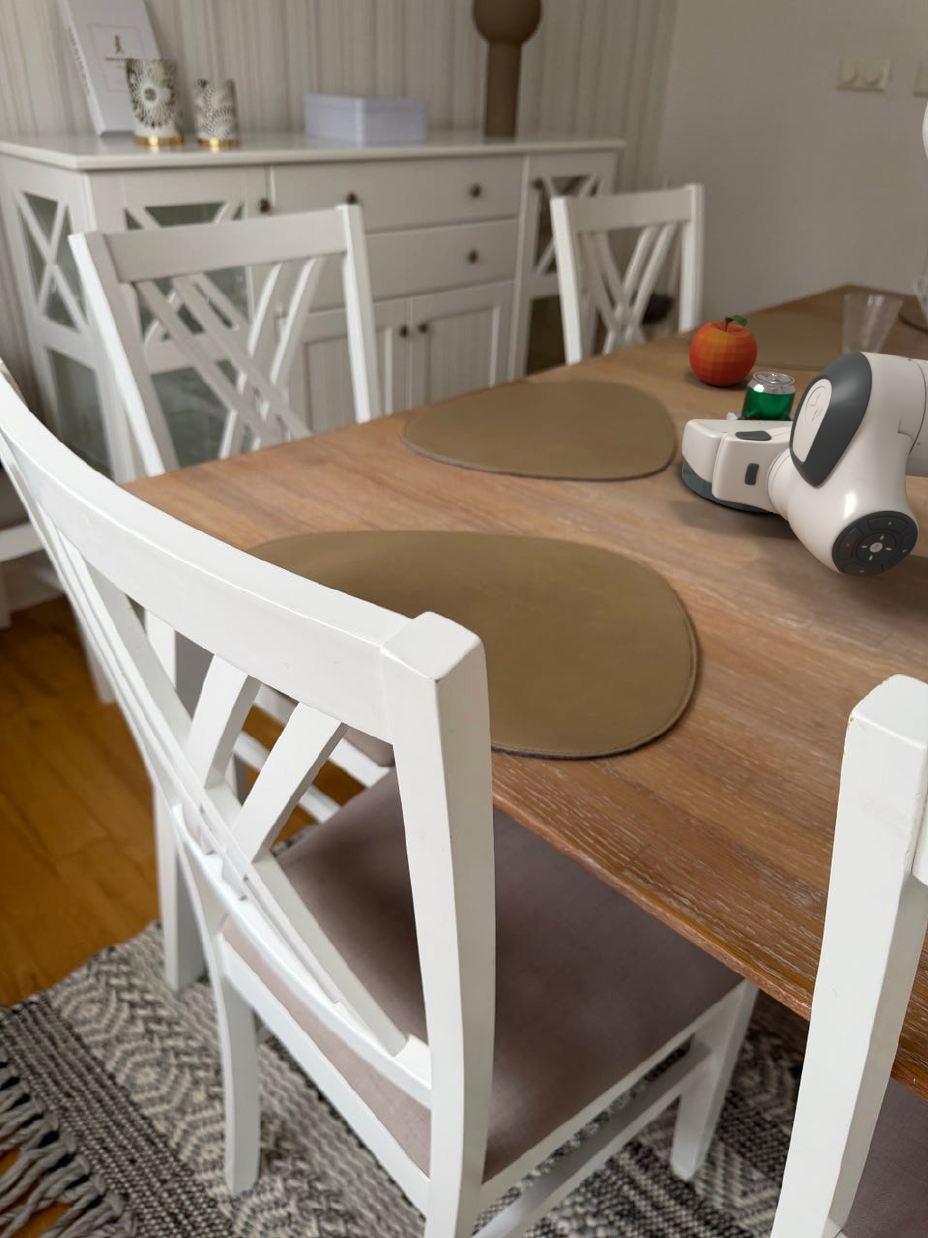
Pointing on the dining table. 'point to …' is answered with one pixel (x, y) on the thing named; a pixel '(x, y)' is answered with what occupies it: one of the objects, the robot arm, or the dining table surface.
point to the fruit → (723, 352)
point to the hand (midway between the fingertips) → (760, 419)
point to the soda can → (769, 397)
